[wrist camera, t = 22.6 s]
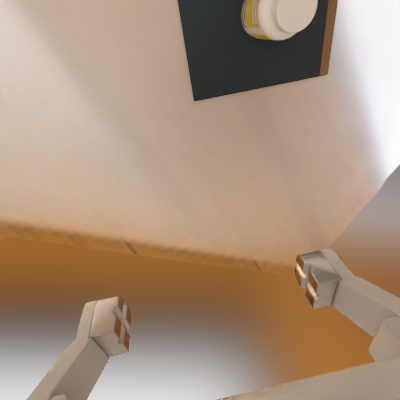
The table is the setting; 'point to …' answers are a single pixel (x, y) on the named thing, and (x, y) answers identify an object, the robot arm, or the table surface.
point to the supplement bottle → (277, 17)
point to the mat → (249, 49)
